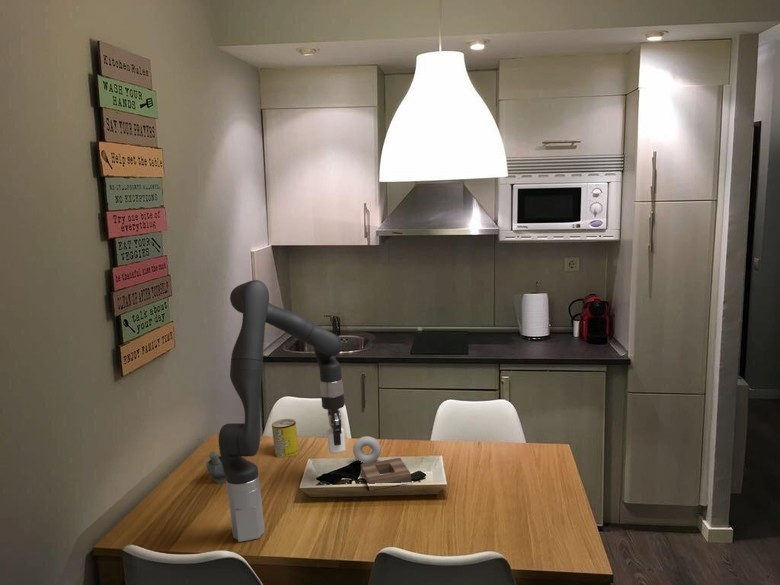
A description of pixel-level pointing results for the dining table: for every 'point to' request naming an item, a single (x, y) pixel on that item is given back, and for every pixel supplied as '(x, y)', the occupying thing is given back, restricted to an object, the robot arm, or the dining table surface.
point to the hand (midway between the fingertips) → (336, 442)
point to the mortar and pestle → (216, 467)
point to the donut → (371, 443)
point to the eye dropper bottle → (332, 447)
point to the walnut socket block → (386, 471)
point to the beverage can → (285, 438)
